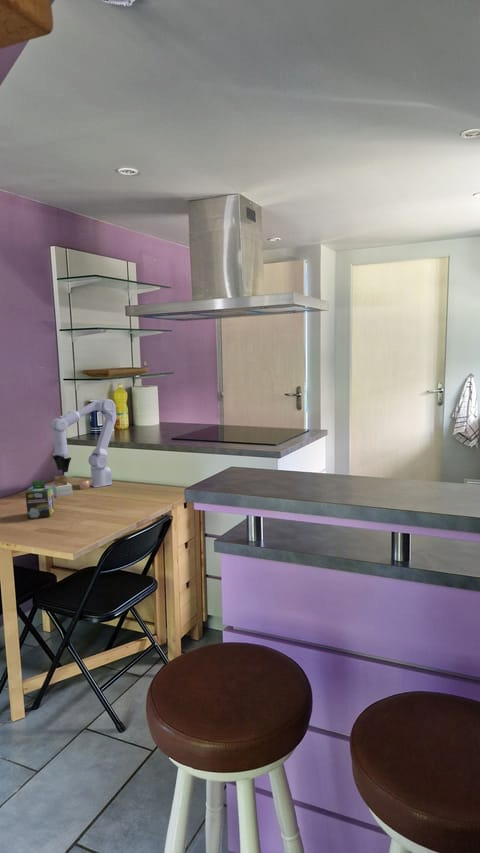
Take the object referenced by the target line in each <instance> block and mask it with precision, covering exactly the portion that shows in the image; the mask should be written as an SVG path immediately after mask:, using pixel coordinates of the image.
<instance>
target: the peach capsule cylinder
mask: <svg viewBox="0 0 480 853" xmlns="http://www.w3.org/2000/svg"><path fill="white" fill-rule="evenodd" d="M90 482H91V481H90V479H88V478H82V479H79V480H78V485H79V486H78V487H79V490H83V491H84V490H89V489H91V485H90V484H91V483H90Z"/></svg>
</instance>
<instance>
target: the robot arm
mask: <svg viewBox="0 0 480 853" xmlns="http://www.w3.org/2000/svg"><path fill="white" fill-rule="evenodd" d="M116 408H117V405H116V404H115V402H114V401H113V400H112V399H110V398H109V399H108V398H107V399H106V398H98V399H97V400H94V401H92V402H90V403H89V404H87V405H86V406H84V407H82V408H80V409H79V410H77V411H75V410H69V411H68V412H66V413H65V414H64V415H60V416H59V418H58V417H57V418H54V419H53V420H52V421H51V423H50V427H51V429H52V432H53V443H54V452H53V453H52V459H53V460H54V462H55V464H56V469H57V470H58V471H60V470H61V471H62V473H68V472H69V466H70V463H71V460H72V457H70V456H69V451H68V441H67V428H68V427H70V426H71V425H74V424H77V423H78V422H79V421H80V419H81V417H83V416H86V415H88V414H90V413H92V412H94V411H99V412H100V413H101V414H102V415H103V418H104V421H103V424H102V428H101V431H100V434H99V437H98V441H97V443H96V448H94V449H93V450H92V453H91V454H90V455H89V457H88V464H89V465H90V476H91V483H90V487H92V488H101V487H106V486H112V485H113V480H112V471H111V468H110V467H109V466H107V465H108V457H109V456H108V451H107V450H108V447H109V445H110V444H109V443H110V441H111V438H112V435H113V431H114V427H115V425H116V420H117V417H118V416H117V410H116Z"/></svg>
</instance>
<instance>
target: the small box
mask: <svg viewBox="0 0 480 853" xmlns="http://www.w3.org/2000/svg"><path fill="white" fill-rule="evenodd" d="M52 485H53V494H54V498H61V497H68V496H72V495H74V494H73V485H72V484H71V483H69V482H67V485H63V486H56V485H55V483H54V484H52Z"/></svg>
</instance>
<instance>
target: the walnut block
mask: <svg viewBox="0 0 480 853" xmlns="http://www.w3.org/2000/svg"><path fill="white" fill-rule="evenodd" d="M53 478H54V484H55V485H56V486H63V485H67V483H68V478H67V476H66V475H65V474H62V475H61V474H60V475H55V476H53Z"/></svg>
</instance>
